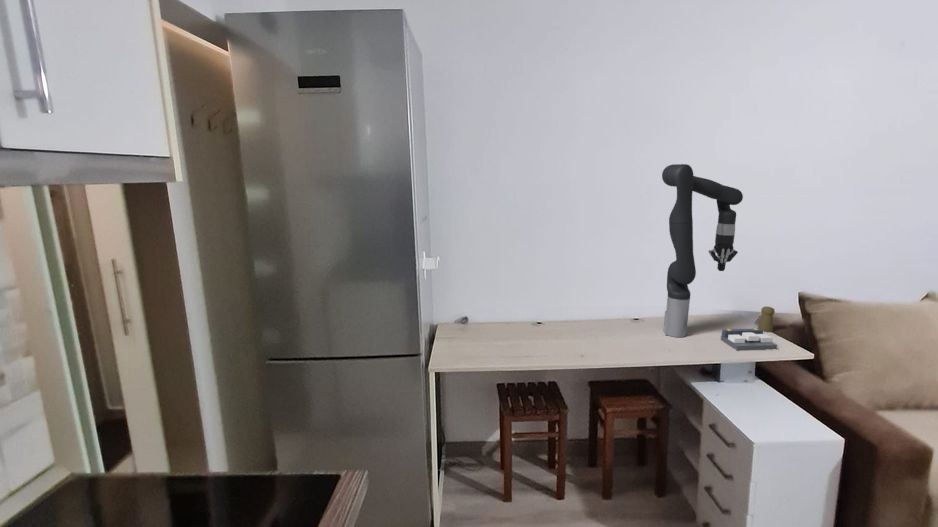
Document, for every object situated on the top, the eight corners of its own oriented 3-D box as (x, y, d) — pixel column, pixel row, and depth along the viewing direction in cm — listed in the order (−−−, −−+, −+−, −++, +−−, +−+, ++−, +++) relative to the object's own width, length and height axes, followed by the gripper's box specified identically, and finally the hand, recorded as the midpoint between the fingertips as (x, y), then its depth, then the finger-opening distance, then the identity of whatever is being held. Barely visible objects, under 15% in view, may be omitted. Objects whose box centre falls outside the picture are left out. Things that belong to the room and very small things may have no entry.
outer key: (761, 342, 209) (762, 338, 209) (754, 338, 213) (755, 334, 213) (772, 342, 209) (772, 337, 209) (765, 338, 214) (765, 333, 213)
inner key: (734, 343, 208) (734, 338, 208) (727, 339, 213) (728, 334, 212) (744, 342, 209) (745, 338, 208) (738, 338, 213) (738, 334, 213)
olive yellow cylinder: (774, 332, 227) (778, 309, 224) (760, 331, 228) (763, 308, 225) (769, 328, 232) (773, 305, 230) (755, 327, 234) (758, 304, 231)
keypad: (736, 350, 206) (738, 338, 205) (720, 339, 218) (722, 328, 217) (776, 349, 207) (778, 337, 206) (758, 339, 219) (759, 327, 218)
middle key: (748, 340, 208) (748, 336, 208) (741, 336, 213) (742, 332, 212) (758, 340, 209) (759, 336, 208) (752, 336, 213) (752, 332, 213)
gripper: (715, 234, 220) (711, 272, 224) (744, 234, 221) (739, 272, 225) (706, 232, 228) (702, 269, 231) (734, 231, 228) (730, 268, 232)
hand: (720, 270), depth 228 cm, fingers closed
